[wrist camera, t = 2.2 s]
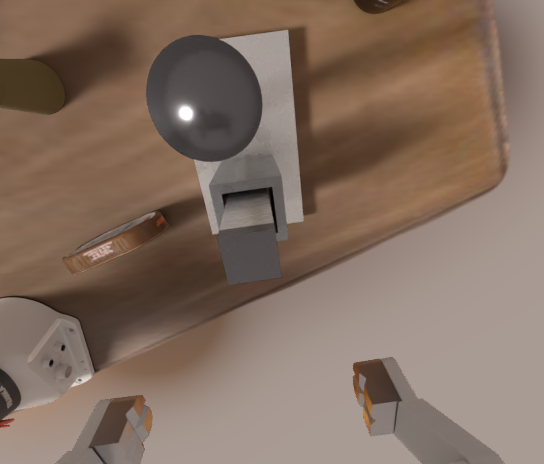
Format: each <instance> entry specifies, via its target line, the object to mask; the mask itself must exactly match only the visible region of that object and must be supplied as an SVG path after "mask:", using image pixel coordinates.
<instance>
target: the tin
mask: <svg viewBox="0 0 544 464" xmlns="http://www.w3.org/2000/svg"><path fill="white" fill-rule="evenodd" d="M168 227H169V224H168V223H167V222H166V220H165V219H164V217H163V216H162V214H161V213H160V212H159V211H154V212H151V213H148V214H146V215H143V216H141V217H139V218H137V219H134V220H132V221H130V222H127V223H125V224H123V225H121V226H118V227H116V228H114V229H112V230H110V231H108V232H106V233H104V234H102V235H100V236H98V237H96V238H94V239H92V240H90V241H88V242H86V243H85V244H83V245H81V246H80V247H78V248H77V249H76V250H75V251H74V252H72V253H71V254H69V255H68V256H65V257H63V258H62V262H63V263H64V265H65V266H66V267H67V268H68V269H69V271H70V272H71V274H72V275H77V274H80V273H82V272H85V271H87V270H89V269H92V268H94V267H96V266H99V265H101V264H103V263H105V262H108V261H110V260H112V259H115V258H117V257H119V256H121V255H124V254H126V253H128V252H131V251H133V250H135V249H137V248H139V247H141V246H143V245H144V244H146V243H148V242H149V241H151V240H153V239H154V238H156V237H157V236H159V235H160V234H161V233H163V232H164V231H165V230H166V229H167V228H168Z"/></svg>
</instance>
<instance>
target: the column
mask: <svg viewBox="0 0 544 464" xmlns="http://www.w3.org/2000/svg"><path fill="white" fill-rule="evenodd" d="M217 239H218V243H219V248H220V252H221V256H222V260H223V264H224V268H225V273H226V277H227V281H228V285H233V284H240V283H247V282H254V281H261V280H268V279H274V278H281V269H280V262H279V254H278V247H277V239H276V232H275V226H274V221H273V216H272V211H271V205H270V200H269V195H268V188H260V189H253V190H246V191H239V192H232V193H229V194H228V197H227V201H226V205H225V209H224V213H223V217H222V221H221V225H220V229H219V233H218V236H217Z"/></svg>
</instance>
